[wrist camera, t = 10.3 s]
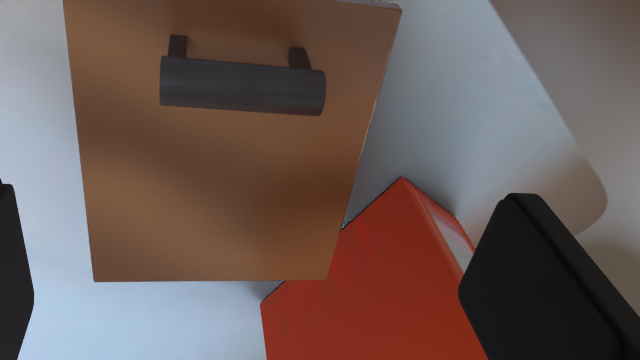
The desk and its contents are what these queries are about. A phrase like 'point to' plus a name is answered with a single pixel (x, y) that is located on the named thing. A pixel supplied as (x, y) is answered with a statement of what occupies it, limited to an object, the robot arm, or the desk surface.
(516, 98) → the desk surface
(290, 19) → the wooden box lid
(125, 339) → the desk surface
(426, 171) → the desk surface
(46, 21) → the desk surface
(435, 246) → the file binder
